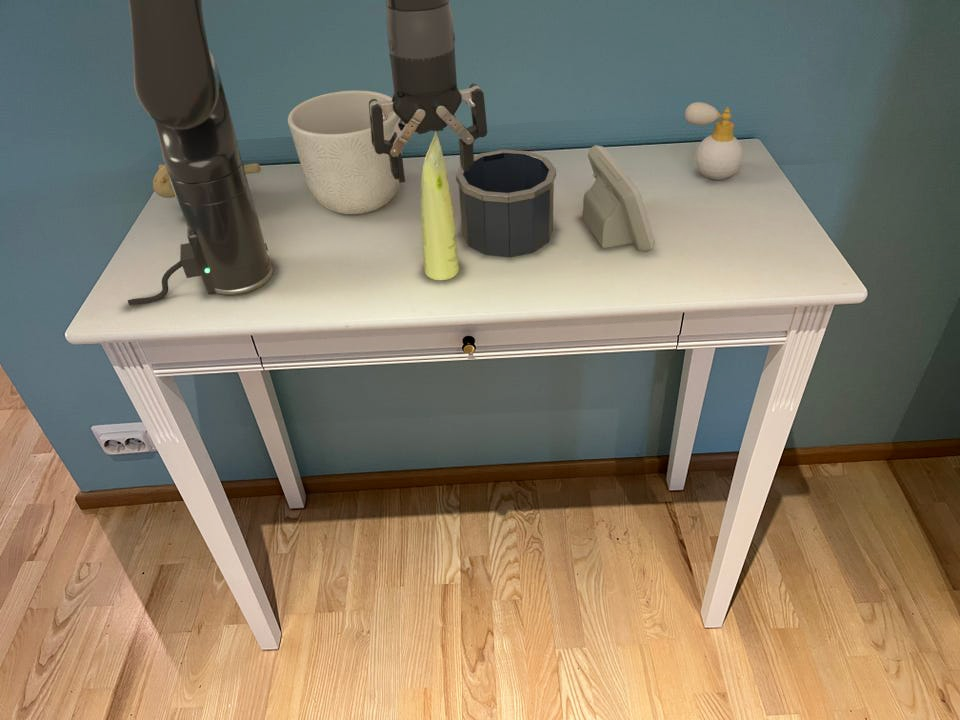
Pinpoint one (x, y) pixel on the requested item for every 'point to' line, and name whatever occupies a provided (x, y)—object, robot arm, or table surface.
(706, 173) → the perfume bottle
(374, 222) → the table surface
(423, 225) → the yellow elongated tapered cylinder
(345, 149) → the planter
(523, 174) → the pail
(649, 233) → the digital clock
